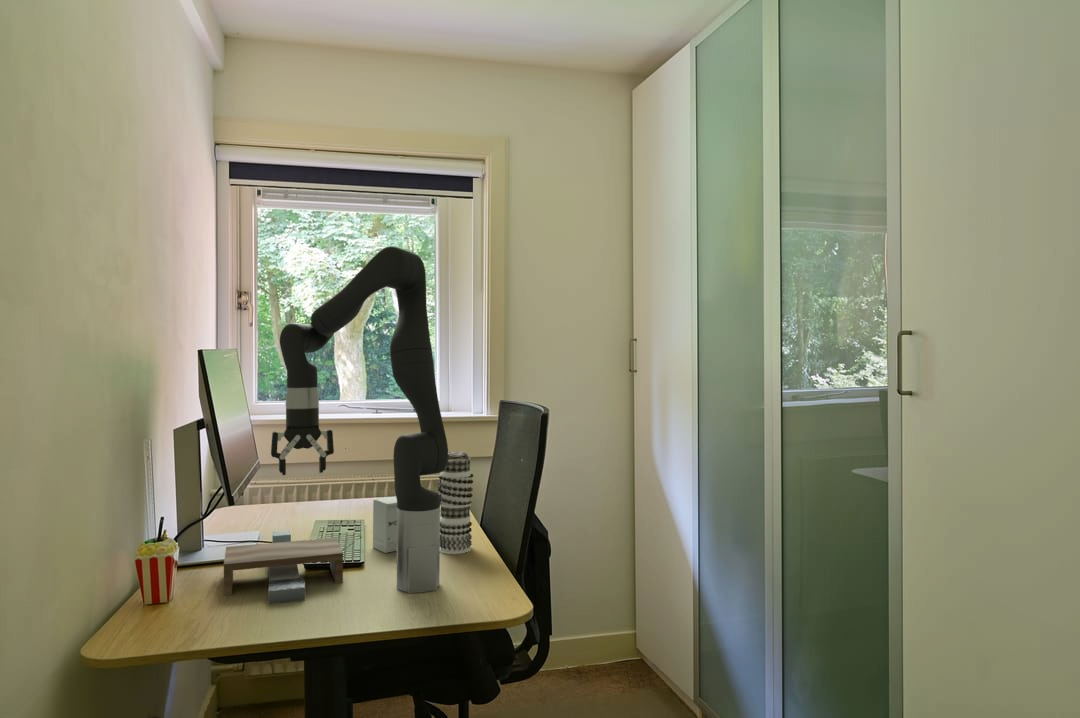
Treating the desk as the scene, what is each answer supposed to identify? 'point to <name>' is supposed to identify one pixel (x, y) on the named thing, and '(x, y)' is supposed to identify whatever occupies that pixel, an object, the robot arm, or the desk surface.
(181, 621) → the desk surface
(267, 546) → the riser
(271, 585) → the grey flat block
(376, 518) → the supplement box
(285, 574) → the grey bar
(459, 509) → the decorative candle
